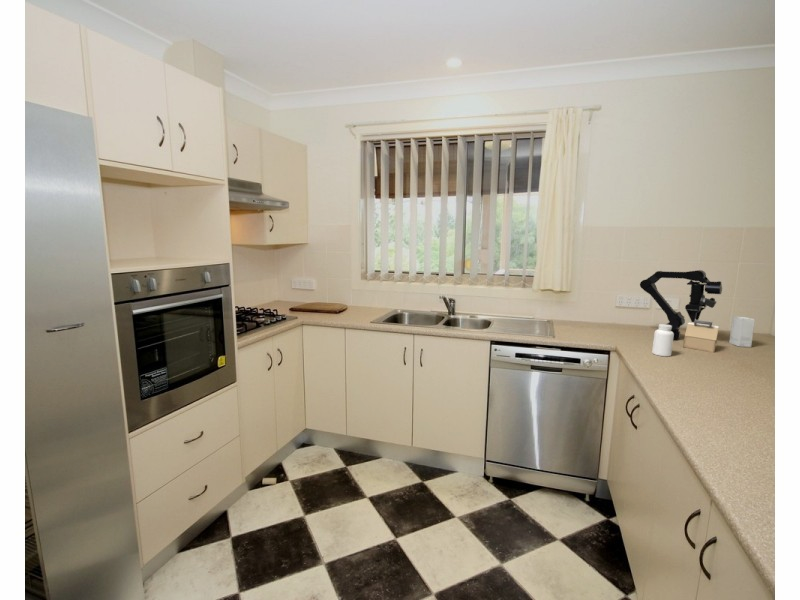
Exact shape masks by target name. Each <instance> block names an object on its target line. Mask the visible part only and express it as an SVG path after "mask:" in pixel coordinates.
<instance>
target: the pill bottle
mask: <svg viewBox="0 0 800 600" xmlns="http://www.w3.org/2000/svg"><path fill="white" fill-rule="evenodd" d="M666 324H667V323H659V324H658V329H656V330H655V331H654V335H653V343H652V349H651V352H652V354H653V355H654V356H655V355H656V356H660V357H671V356H672V350H673V343H674V340H673V338H674V333H673V332H672V331H670V330H671V329H672V326H671V325H666Z"/></svg>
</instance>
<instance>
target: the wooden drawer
mask: <svg viewBox="0 0 800 600" xmlns="http://www.w3.org/2000/svg"><path fill="white" fill-rule="evenodd" d="M717 340H718V337H717V338H716V341H713V340H706V339H700V338H693V337H686V336H685V335H684V339H683V344H682V345H683V346H682V347H683V348H685V349H691V350H698V351H702V352H710V353H715V351H716V348H717Z"/></svg>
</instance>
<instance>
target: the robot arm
mask: <svg viewBox="0 0 800 600" xmlns="http://www.w3.org/2000/svg"><path fill="white" fill-rule="evenodd" d="M661 279H685V280H689V282H687V283H686V285H689V286H690V294H689V298H690V299H689V302H688V303H687V304H685V306H684V307H685V308H684V309H685V311H686V313H687V315H688V317H689V319H690V321H691V323H694V321H695V320H698V321H699V320H700V316H701V313H702V311H703V310H705V309H706V308H707V307H709V308H711V309H712V308H714V307H715V306H716V304H717V301H716V298H715V297H711V298H707V297H706V296H705V294H704V293H706V294H710V295H722V293H723V292H722V291H723V285H722V281H719V280H718V281H710V279H709V278H708V277H707V273H706V272H705V271H704V270H701V269H699V270H689V271H666V270H665V271H663V270H657V271H656V272H655V273H653V274H652V275H651V276H649V277H648V278H646V279H643V280H641V281H640V283H639V286H640V288H641V289H642V290H643V291H644V292H646V294H648V295H650V297H652V299H653V300H654V301H655V302H656V304H657V305H658V306H659V307H660V309H662V311H663V312H664V313H665V315H666V317H667V321H668V322H667V323H665V324H666V325H671V326H672V329H671V330H670V331H672V332H673V333H674V338H673V341H678V340H679V339H680V335H681V331H680V328H681V327H682V326H683V325H684V324H685V323H686V319H685V316H684V315H683V314H682V313H681V311H675V310H674V309H673V307H672V306H671V305H670V304H669V302H668V301H667V300H666V299H665V297H664V296H663V295H662V294H661V293H660V292H659V290H658V288H657V285H656V283H657V282H658V281H660V280H661Z"/></svg>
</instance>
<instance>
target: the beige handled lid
mask: <svg viewBox="0 0 800 600" xmlns="http://www.w3.org/2000/svg"><path fill="white" fill-rule="evenodd" d="M718 332H719V325H713V321H705V320H699V319H698V320H696V319H695V321H694V322H687V326H686V330H685V334H684V337H685V336H686V337H693V338H700V339H706V340H713V341H716V338H717V339H718ZM716 342H717V341H716Z"/></svg>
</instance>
